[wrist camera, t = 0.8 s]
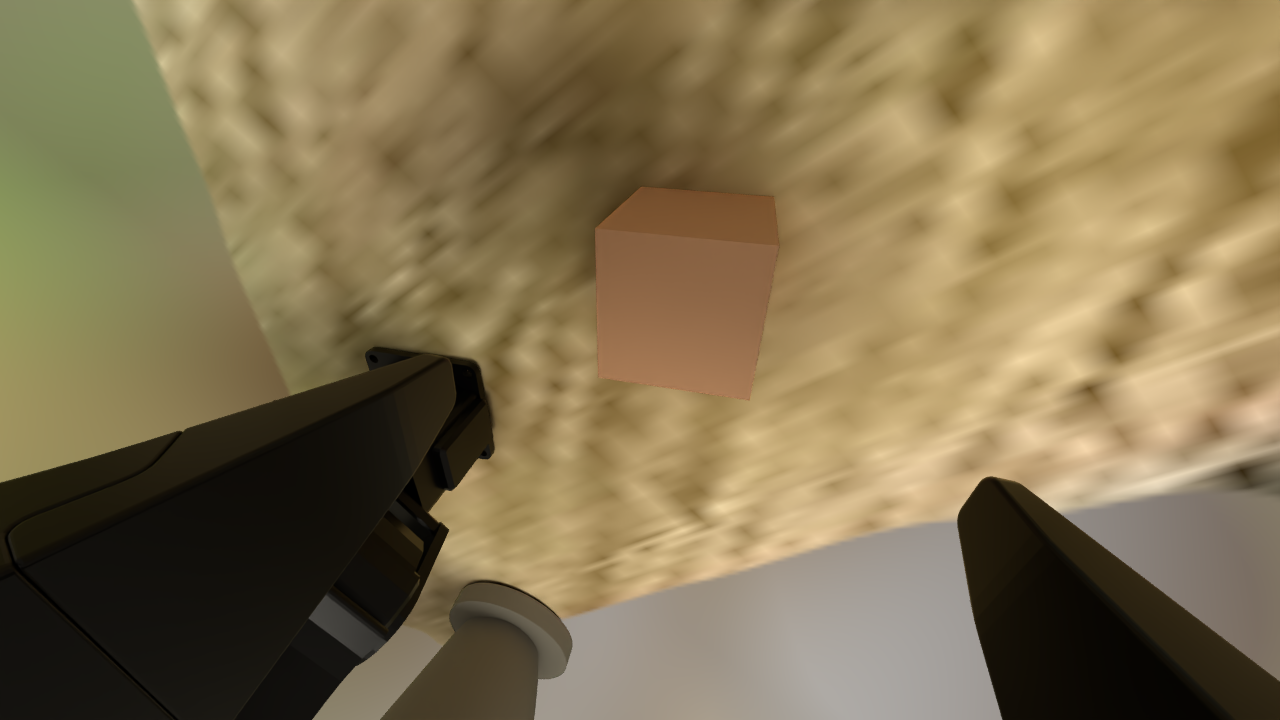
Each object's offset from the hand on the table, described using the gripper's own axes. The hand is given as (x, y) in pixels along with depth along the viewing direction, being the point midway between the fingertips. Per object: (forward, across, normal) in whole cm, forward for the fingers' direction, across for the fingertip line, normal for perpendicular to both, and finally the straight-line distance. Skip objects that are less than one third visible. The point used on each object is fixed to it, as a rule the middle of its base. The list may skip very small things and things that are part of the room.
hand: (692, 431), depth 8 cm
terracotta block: (+12, +1, +1) cm, 12 cm away
